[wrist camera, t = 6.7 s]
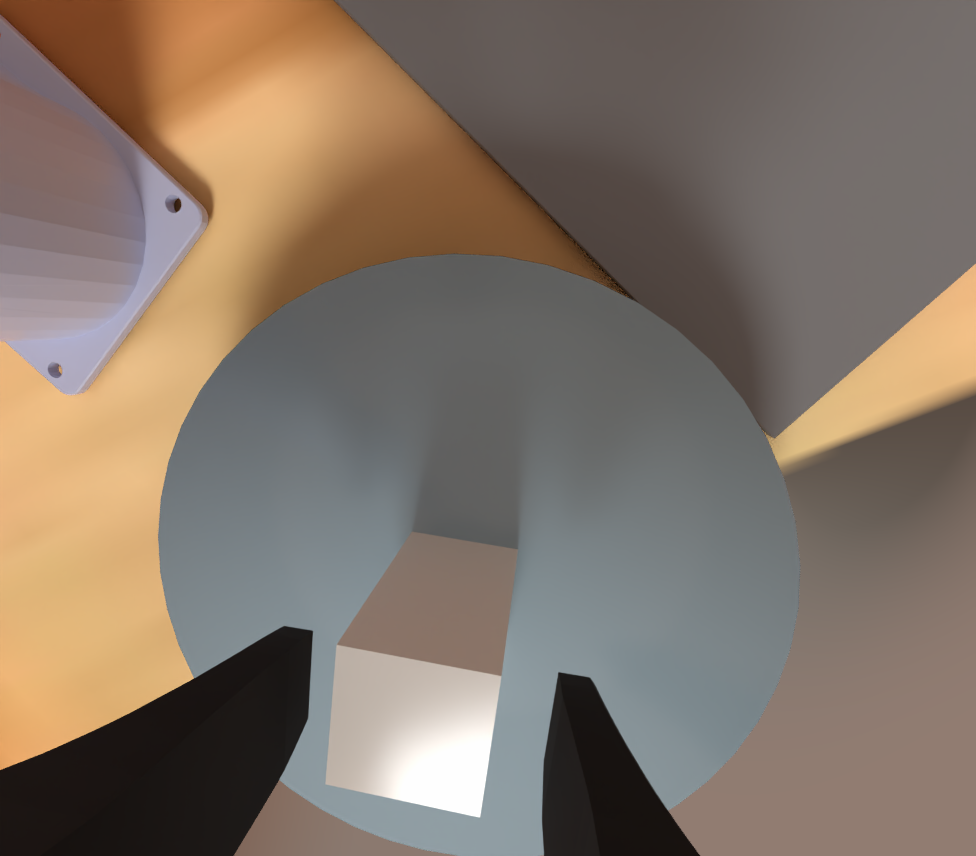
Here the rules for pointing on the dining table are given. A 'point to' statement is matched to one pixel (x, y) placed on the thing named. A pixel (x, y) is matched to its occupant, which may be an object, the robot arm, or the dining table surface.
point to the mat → (728, 158)
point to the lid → (481, 539)
